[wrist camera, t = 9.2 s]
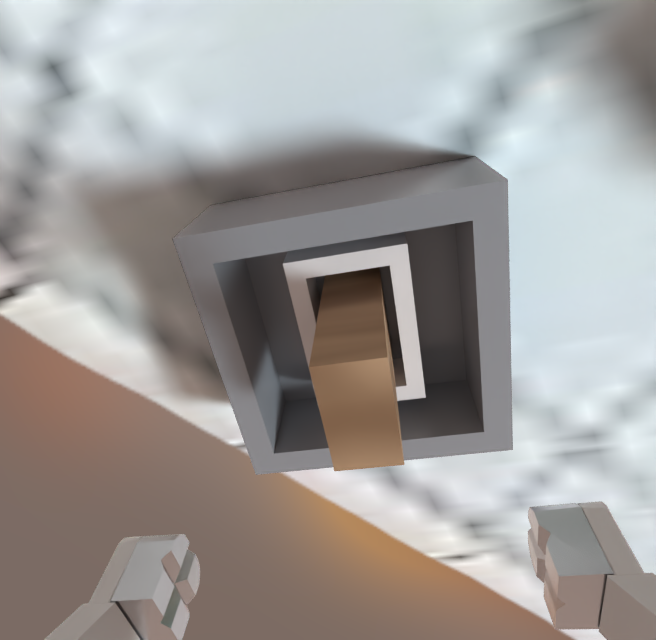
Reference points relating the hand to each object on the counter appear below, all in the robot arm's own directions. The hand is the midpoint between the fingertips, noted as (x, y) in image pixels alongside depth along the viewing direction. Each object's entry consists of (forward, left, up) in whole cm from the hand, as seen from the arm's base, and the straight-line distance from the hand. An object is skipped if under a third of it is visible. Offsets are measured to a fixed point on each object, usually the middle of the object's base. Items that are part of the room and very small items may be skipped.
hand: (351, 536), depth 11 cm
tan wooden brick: (+1, 0, -13) cm, 13 cm away
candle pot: (+1, 0, -14) cm, 14 cm away
